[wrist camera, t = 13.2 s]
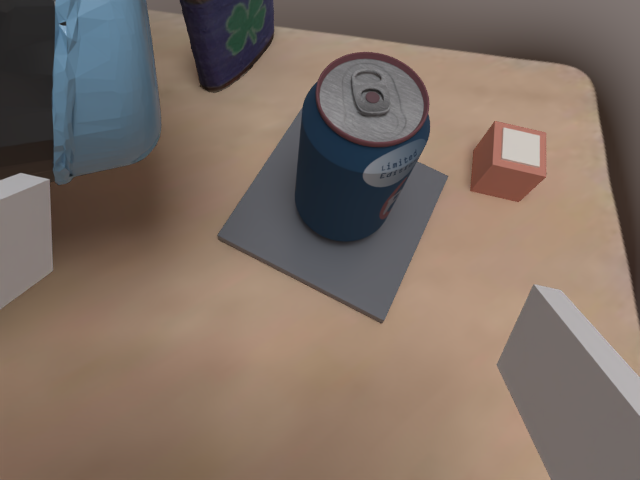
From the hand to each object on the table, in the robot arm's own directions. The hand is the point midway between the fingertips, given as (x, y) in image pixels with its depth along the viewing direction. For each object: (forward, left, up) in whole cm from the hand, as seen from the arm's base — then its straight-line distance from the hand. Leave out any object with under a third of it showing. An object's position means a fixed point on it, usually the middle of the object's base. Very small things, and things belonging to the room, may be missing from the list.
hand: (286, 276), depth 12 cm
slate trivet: (-2, +12, -18) cm, 22 cm away
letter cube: (+9, +21, -19) cm, 29 cm away
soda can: (-1, +12, -18) cm, 22 cm away
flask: (-16, +21, -19) cm, 32 cm away
